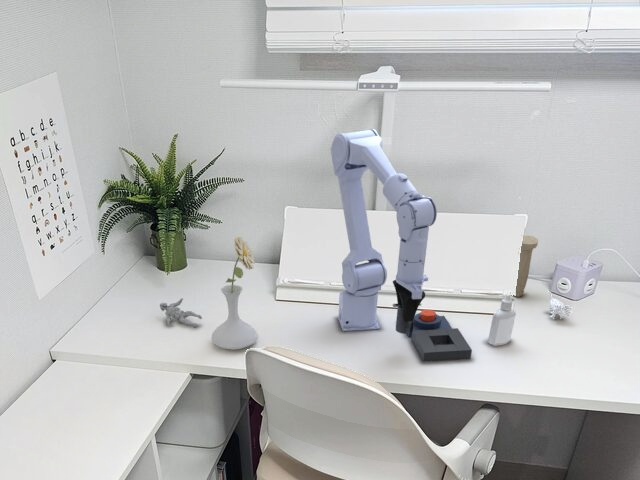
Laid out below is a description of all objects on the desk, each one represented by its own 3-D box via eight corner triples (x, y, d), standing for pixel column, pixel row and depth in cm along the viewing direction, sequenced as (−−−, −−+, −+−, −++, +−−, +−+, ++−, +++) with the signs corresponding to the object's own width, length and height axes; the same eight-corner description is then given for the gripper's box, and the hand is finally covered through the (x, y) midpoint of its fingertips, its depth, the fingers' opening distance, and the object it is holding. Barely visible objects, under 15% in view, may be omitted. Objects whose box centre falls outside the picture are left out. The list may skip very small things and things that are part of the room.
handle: (525, 290, 187) (536, 236, 177) (526, 300, 182) (538, 244, 172) (506, 289, 187) (517, 235, 178) (507, 299, 183) (518, 243, 173)
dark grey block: (392, 334, 155) (395, 306, 151) (388, 326, 158) (391, 298, 154) (419, 332, 156) (423, 304, 151) (415, 325, 159) (418, 297, 154)
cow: (571, 324, 170) (576, 307, 167) (549, 325, 170) (554, 307, 167) (556, 304, 179) (561, 287, 176) (536, 304, 180) (540, 287, 177)
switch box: (408, 337, 166) (409, 326, 164) (400, 323, 172) (402, 312, 171) (452, 335, 167) (454, 323, 165) (443, 320, 173) (444, 309, 171)
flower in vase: (240, 358, 159) (234, 253, 144) (202, 346, 164) (192, 244, 149) (271, 336, 168) (268, 235, 152) (233, 326, 173) (227, 226, 157)
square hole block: (422, 362, 156) (424, 352, 155) (411, 340, 165) (412, 330, 164) (470, 359, 157) (472, 349, 156) (456, 337, 166) (457, 328, 164)
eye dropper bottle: (512, 346, 162) (523, 298, 154) (489, 346, 162) (498, 299, 154) (508, 337, 165) (518, 290, 158) (485, 338, 165) (493, 291, 158)
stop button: (422, 322, 166) (422, 316, 165) (418, 316, 169) (419, 309, 168) (436, 321, 167) (437, 315, 166) (432, 315, 169) (433, 309, 168)
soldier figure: (188, 336, 171) (149, 314, 173) (193, 340, 176) (155, 319, 178) (203, 309, 171) (164, 287, 173) (208, 314, 176) (169, 293, 177)
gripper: (439, 269, 141) (431, 329, 149) (421, 245, 152) (415, 301, 161) (405, 271, 141) (399, 331, 149) (390, 246, 152) (385, 303, 160)
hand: (405, 316), depth 155 cm, fingers closed on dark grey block, 4 cm apart
